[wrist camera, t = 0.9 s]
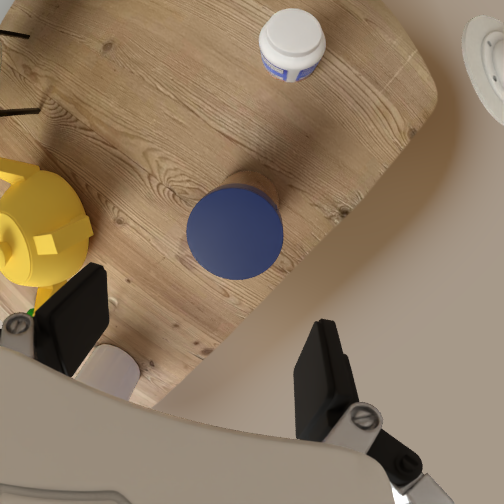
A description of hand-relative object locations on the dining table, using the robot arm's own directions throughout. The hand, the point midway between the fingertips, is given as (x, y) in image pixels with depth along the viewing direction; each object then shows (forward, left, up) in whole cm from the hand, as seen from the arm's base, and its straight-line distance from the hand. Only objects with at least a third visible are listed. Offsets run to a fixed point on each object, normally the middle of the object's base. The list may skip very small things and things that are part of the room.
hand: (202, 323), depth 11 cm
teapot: (+24, -13, -21) cm, 35 cm away
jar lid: (0, 0, -10) cm, 10 cm away
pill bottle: (-12, -11, -21) cm, 27 cm away
